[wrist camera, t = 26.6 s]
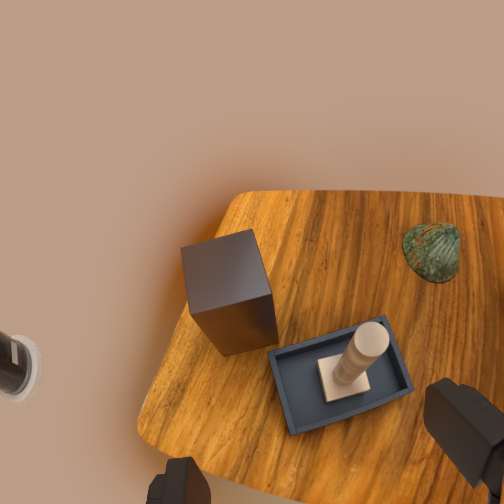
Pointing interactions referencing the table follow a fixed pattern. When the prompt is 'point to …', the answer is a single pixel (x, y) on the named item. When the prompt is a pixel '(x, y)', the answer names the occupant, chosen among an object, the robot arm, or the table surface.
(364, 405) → the tray
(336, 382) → the wooden peg on base
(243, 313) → the stand
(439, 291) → the table surface
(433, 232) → the seashell
